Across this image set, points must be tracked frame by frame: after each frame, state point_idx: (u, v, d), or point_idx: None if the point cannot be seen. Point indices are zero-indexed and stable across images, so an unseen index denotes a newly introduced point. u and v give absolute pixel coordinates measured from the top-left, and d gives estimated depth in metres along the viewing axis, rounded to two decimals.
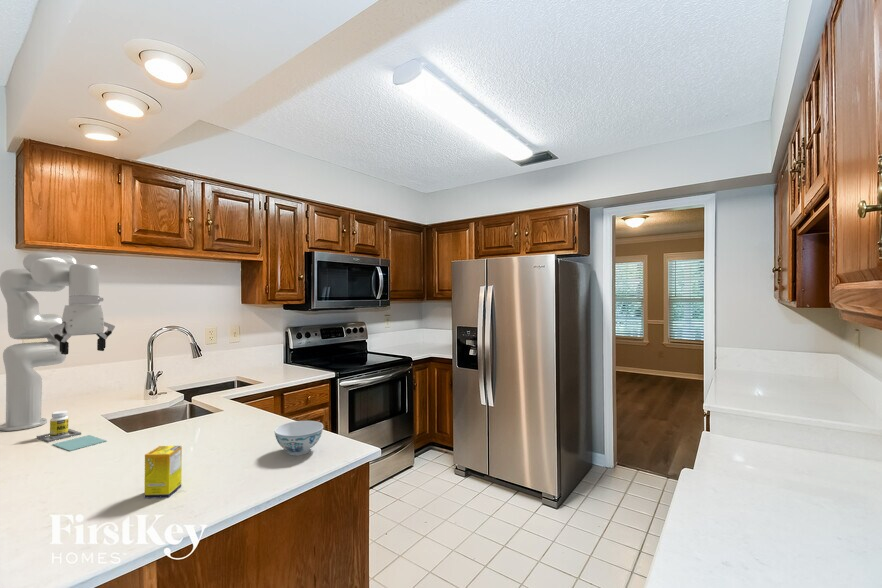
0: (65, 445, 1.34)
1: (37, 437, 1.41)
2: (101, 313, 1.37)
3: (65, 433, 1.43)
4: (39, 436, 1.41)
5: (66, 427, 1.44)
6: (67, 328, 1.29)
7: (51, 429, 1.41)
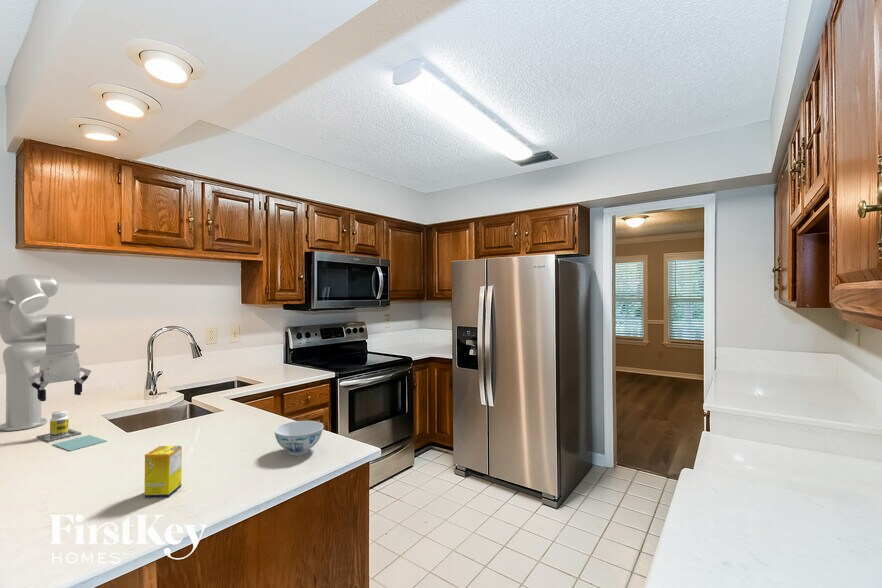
0: (65, 445, 1.34)
1: (37, 437, 1.41)
2: (77, 360, 1.46)
3: (65, 433, 1.43)
4: (39, 436, 1.41)
5: (66, 427, 1.44)
6: (45, 377, 1.38)
7: (51, 429, 1.41)
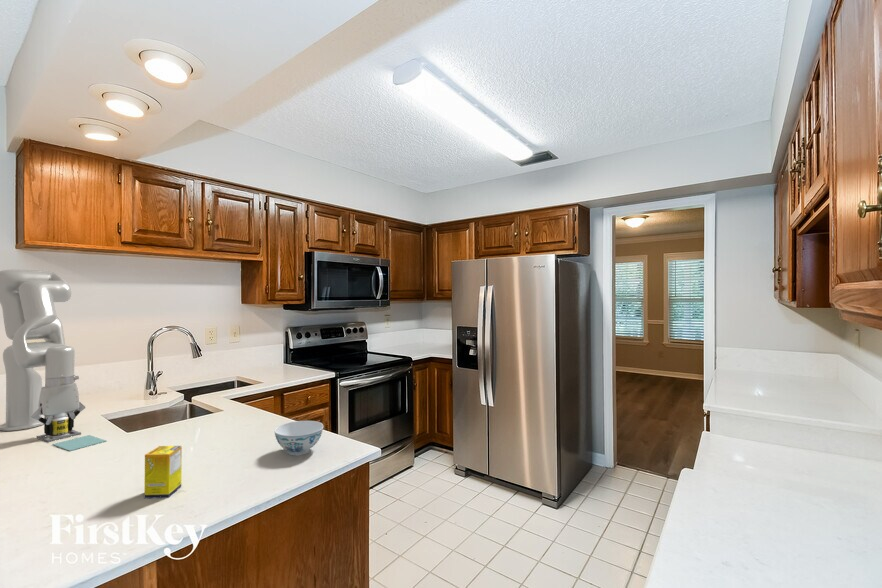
0: (65, 445, 1.34)
1: (37, 437, 1.41)
2: (76, 392, 1.46)
3: (65, 433, 1.43)
4: (39, 436, 1.41)
5: (66, 427, 1.44)
6: (44, 410, 1.38)
7: None
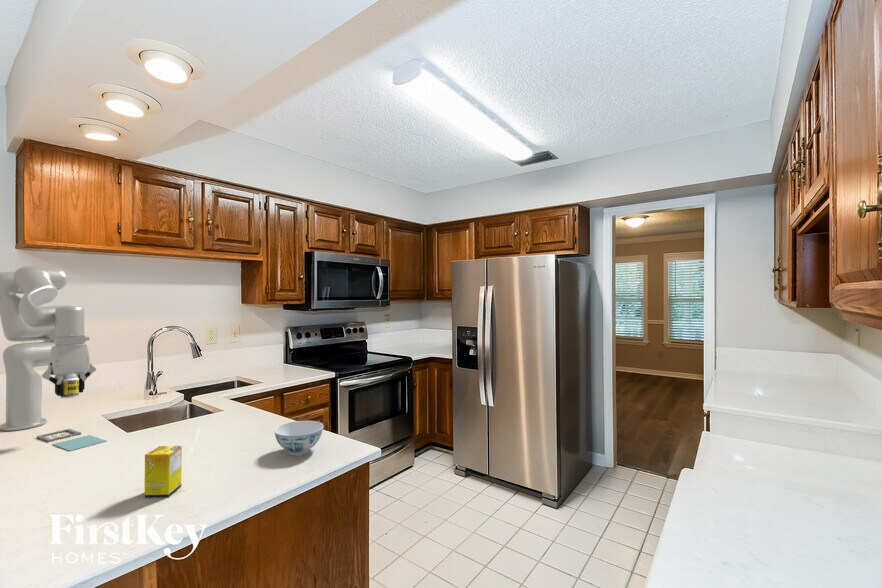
0: (65, 445, 1.34)
1: (37, 437, 1.41)
2: (87, 352, 1.43)
3: (76, 394, 1.40)
4: (39, 436, 1.41)
5: (77, 388, 1.40)
6: (54, 369, 1.35)
7: None
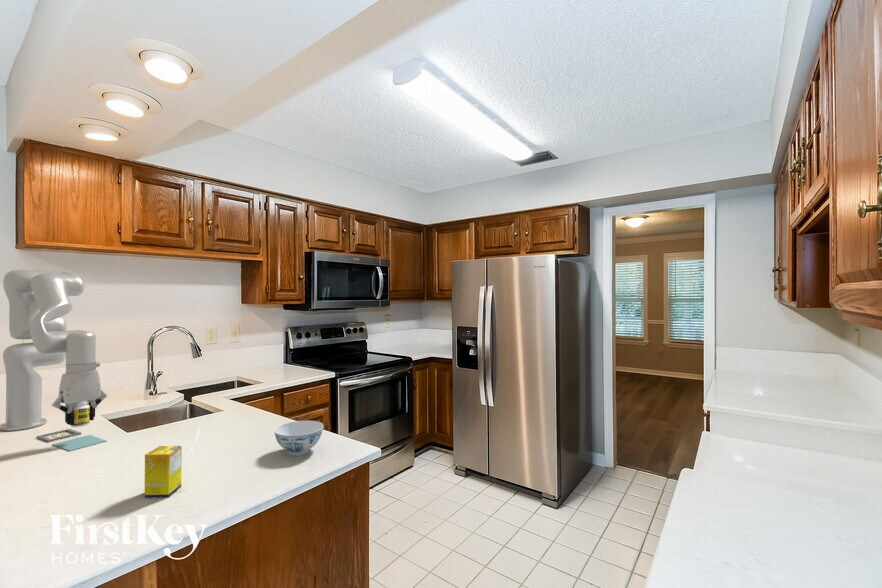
0: (65, 445, 1.34)
1: (37, 437, 1.41)
2: (98, 379, 1.39)
3: (87, 422, 1.37)
4: (39, 436, 1.41)
5: (88, 416, 1.37)
6: (65, 398, 1.32)
7: None
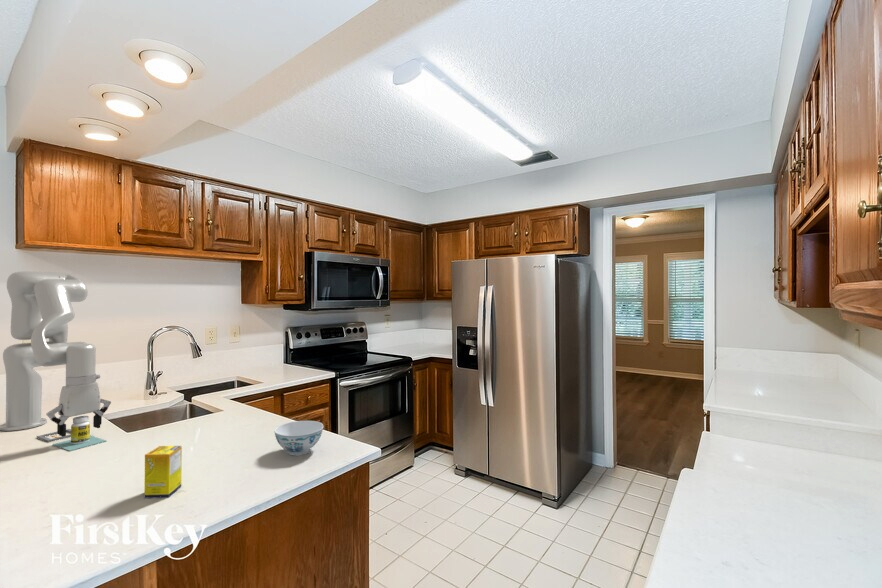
0: (65, 445, 1.34)
1: (37, 437, 1.41)
2: (97, 391, 1.39)
3: (86, 439, 1.37)
4: (39, 436, 1.41)
5: (87, 433, 1.37)
6: (64, 411, 1.32)
7: (72, 435, 1.35)
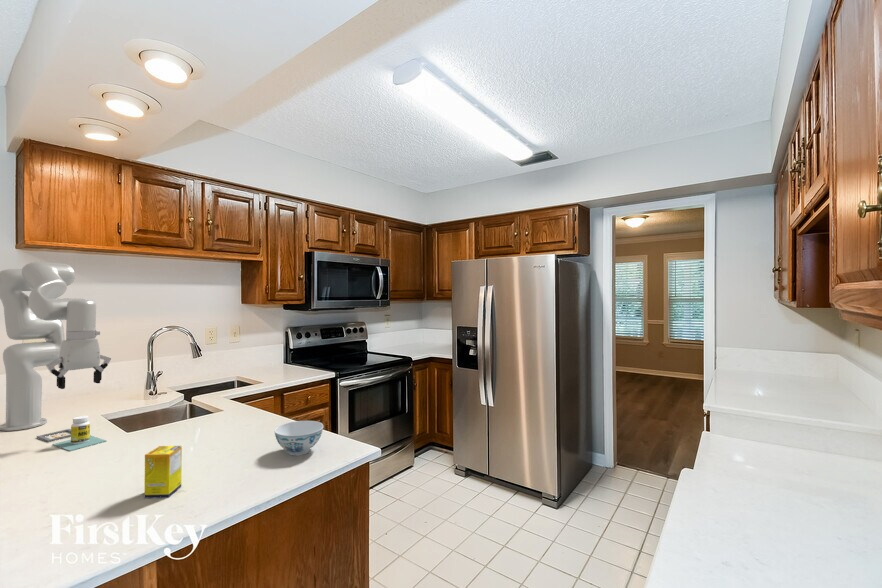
0: (65, 445, 1.34)
1: (37, 437, 1.41)
2: (97, 347, 1.41)
3: (86, 439, 1.37)
4: (39, 436, 1.41)
5: (87, 433, 1.37)
6: (64, 364, 1.33)
7: (72, 435, 1.35)
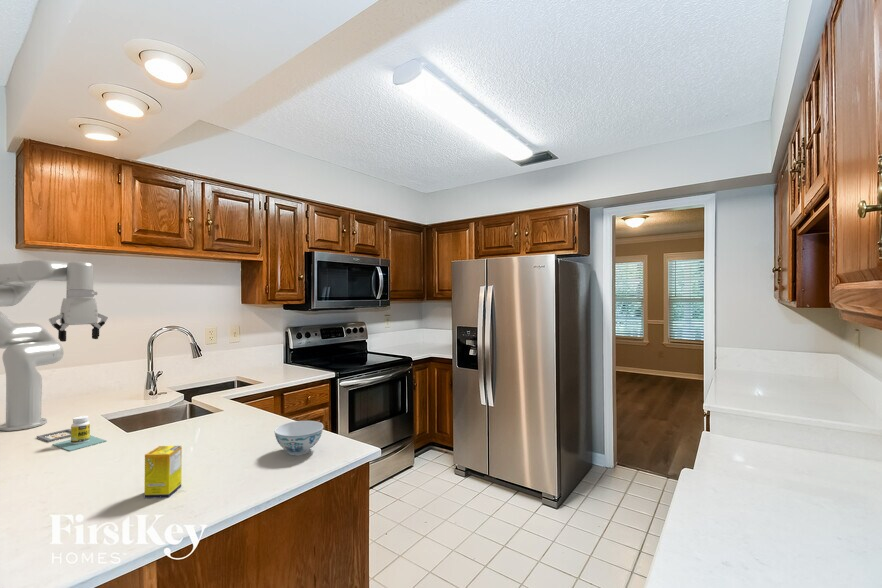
0: (65, 445, 1.34)
1: (37, 437, 1.41)
2: (95, 306, 1.54)
3: (86, 439, 1.37)
4: (39, 436, 1.41)
5: (87, 433, 1.37)
6: (65, 319, 1.47)
7: (72, 435, 1.35)
